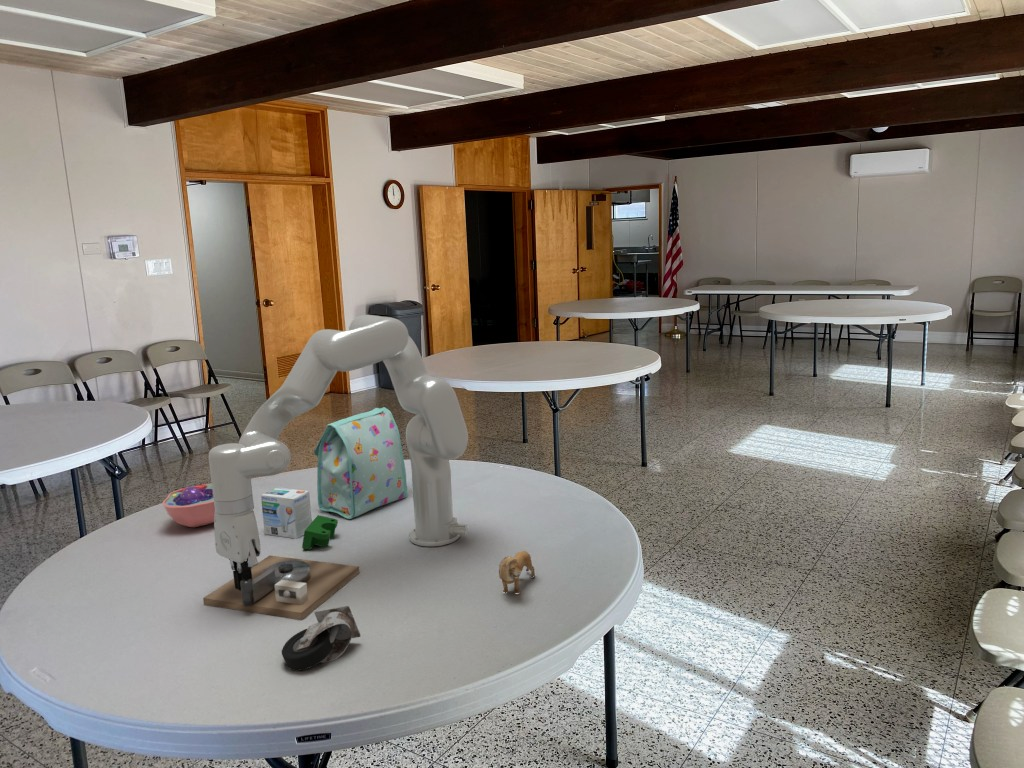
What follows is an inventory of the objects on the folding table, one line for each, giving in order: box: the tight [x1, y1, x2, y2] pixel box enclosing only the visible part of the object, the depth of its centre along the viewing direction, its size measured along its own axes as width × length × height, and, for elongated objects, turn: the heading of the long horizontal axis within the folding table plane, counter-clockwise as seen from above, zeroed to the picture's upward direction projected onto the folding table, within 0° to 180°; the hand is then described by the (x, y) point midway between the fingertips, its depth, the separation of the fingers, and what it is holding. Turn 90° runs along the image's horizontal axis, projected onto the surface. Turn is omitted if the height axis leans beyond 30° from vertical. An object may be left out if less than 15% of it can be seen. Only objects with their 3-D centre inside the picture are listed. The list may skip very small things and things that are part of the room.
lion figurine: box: [498, 550, 536, 593], centre depth 156 cm, size 15×5×9 cm, turn 164°
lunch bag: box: [313, 406, 408, 520], centre depth 209 cm, size 23×16×27 cm
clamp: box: [301, 514, 339, 551], centre depth 185 cm, size 11×6×8 cm, turn 171°
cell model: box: [161, 482, 215, 528], centre depth 201 cm, size 17×20×11 cm
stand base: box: [202, 555, 360, 621], centre depth 160 cm, size 24×22×5 cm
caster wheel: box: [281, 605, 361, 671], centre depth 132 cm, size 7×12×10 cm
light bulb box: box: [260, 487, 313, 540], centre depth 192 cm, size 11×7×11 cm, turn 68°
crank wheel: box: [240, 560, 311, 607], centre depth 157 cm, size 19×10×5 cm, turn 160°
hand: (244, 587), depth 155 cm, fingers closed
